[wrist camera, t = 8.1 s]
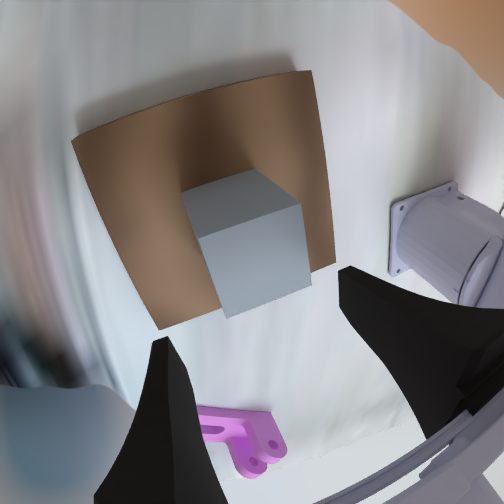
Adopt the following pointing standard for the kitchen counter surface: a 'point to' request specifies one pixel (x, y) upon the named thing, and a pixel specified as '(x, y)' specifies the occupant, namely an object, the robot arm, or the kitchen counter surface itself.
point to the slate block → (249, 239)
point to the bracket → (244, 437)
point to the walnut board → (203, 179)
